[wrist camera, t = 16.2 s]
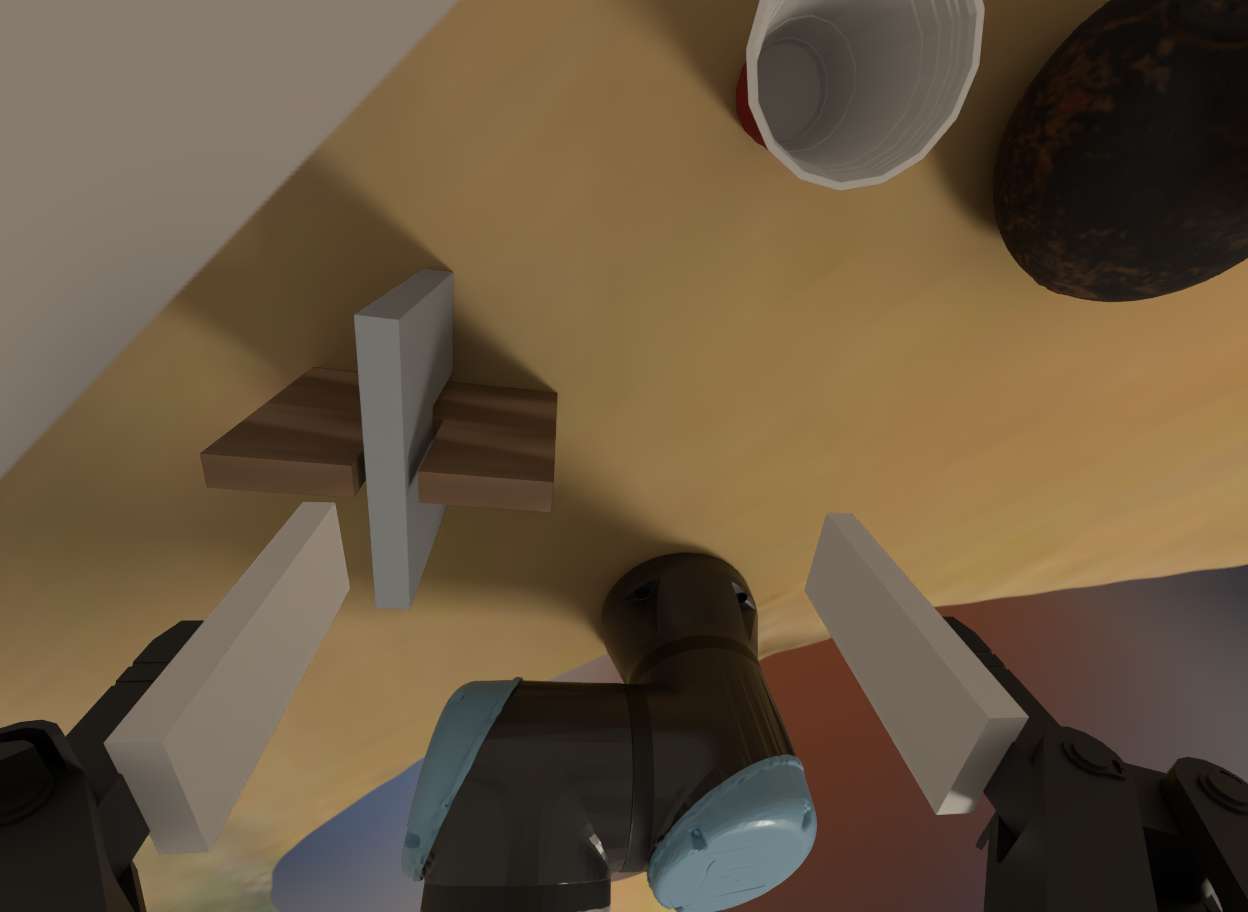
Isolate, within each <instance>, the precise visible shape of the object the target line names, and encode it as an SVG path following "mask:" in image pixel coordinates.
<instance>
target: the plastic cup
mask: <svg viewBox="0 0 1248 912" xmlns="http://www.w3.org/2000/svg"><path fill="white" fill-rule="evenodd" d="M984 11H985V8H984V4H983V0H760V1H759V5H758V8H757V12H756V15H755V19H754V23H753V26H752V30H751V33H750V37H749V41H748V44H747V48H746V60H747V61H746V63H745V64H744V66H743V68H742V71H741V75H740V78H739V82H738V85H737V89H736V99H737V113H738V116H739V118H740V120H741V123H742V125H743V128H744V130H745V131H746V132H747V133H748V134H749V135H750V136H751V137H752V138H753V139H754V140H755V141H756V142H757V143H758V144H760V145H762V146H764V147H765V148H766V149H767V150H769V151H770V152H771V153H772V154H773V155H774V156H775V157H776V158H778V159H779V160H780V161H781V162H782V163H783V164H784V165H785V166H786V167H787V168H788V169H789V170H790V171H791V172H793V173H794V174H795V175H796V176H797V177H798V178H799V179H801V180H805V181H808V182H812V183H815V184H818V185H822V186H825V187H829V188H832V189H835V190H839V191H840V190H846V189H852V188H858V187H865V186H871V185H877V184H882V183H884V182H886V181H887V180H889V179H891V178H892V177H894V176H895V175H897V174H899V173H900V172H902V171H904V170H905V169H907V168H909V167H910V166H912V165H914V164H915V163H917V162H918V161H920V160H922V159H923V158H924V157H925V156H926V155H927V153H928V152H929V151H930V150H931V149H932V147H933V146H934V145H935V144H936V143H937V141H938V140H939V139H940V138H941V137H942V135H943V134H944V133H945V132H946V131H947V130H948V128H949V127H950V126H951V125H952V124H953V122H954V121H955V120H956V119H957V117H958V115H959V112H960V110H961V108H962V105H963V103H964V101H965V98H966V96H967V93H968V91H969V89H970V86H971V84H972V82H973V79H974V77H975V75H976V72H977V70H978V67H979V62H980V52H981V42H982V32H983V21H984Z"/></svg>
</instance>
